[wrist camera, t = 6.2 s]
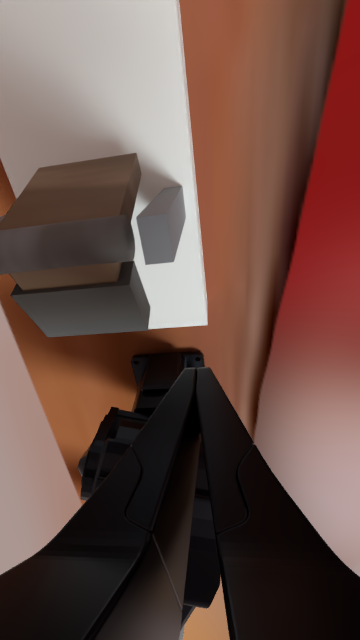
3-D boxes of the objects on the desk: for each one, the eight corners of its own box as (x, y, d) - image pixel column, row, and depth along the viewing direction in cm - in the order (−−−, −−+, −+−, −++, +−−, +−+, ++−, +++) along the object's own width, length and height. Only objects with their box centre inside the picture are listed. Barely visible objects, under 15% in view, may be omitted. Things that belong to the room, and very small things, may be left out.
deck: (207, 301, 23) (208, 407, 13) (87, 310, 24) (13, 413, 15) (178, -10, 14) (125, -304, 5) (-8, 33, 15) (-328, -135, 6)
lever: (163, 239, 17) (154, 329, 13) (76, 249, 18) (42, 337, 14) (141, 144, 13) (117, 232, 9) (30, 162, 14) (-39, 251, 10)
